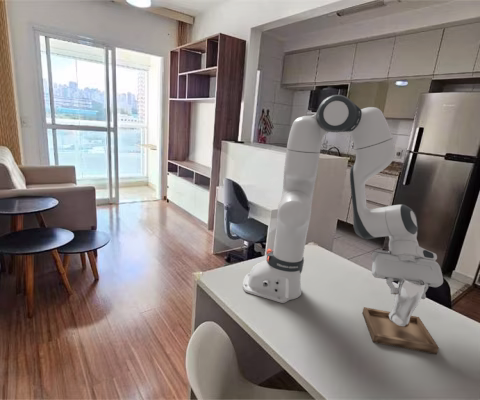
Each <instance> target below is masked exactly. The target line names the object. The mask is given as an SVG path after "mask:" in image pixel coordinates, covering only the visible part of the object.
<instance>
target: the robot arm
mask: <svg viewBox="0 0 480 400" xmlns="http://www.w3.org/2000/svg"><path fill="white" fill-rule="evenodd" d="M289 130H290V131H289V134H288V139H287V144H286V145H287V146H286V150H285V151H286V153H285V161H284V167H283V184H282V194H281V198H280V201H279V203H278V206H277V212H276V213H277V214H276V224H275V225H276V226H275V236H274V243H273V250H272V249H271V248H268V249H266V259H265V260H262V261H260V262H258V263H256V264H254V265H253V267H252V268H251V270H250V272H248V273H246V274H245V276H243V277H244V278H243V280H242V289H243V290H244V292H246V293H248V294H251V295H255V296H258V297H260V298H264V299H268V300H271V301H274V302H278V303H281V304H285V303H287V302H289V301H290V300H294V299H297V298H299V297H301V295H302V292H303V291H302V283H301V282H302V281H301V277H302V276H301V275H302V274H301V273H302V272H303V268H304V261H305V259H304V253H305V246H306V242H307V236H308V231H309V227H310V221H311V217H312V205H313V204H312V203H313V198H314V191H315V186H316V185H315V184H316V179H317V175H318V167H319V161H320V157H321V148H322V143H323V139H324V137H325V136H326V135H327V134H328V133H348V135H349V136H350V137H351V140H352V143H353V147H354V151H355V161H354V163H353V165H351V166H350V170H349V179H350V180H349V182H350V192H351V193H350V194H351V203H352V204H351V205H352V217H353V218H352V220H353V222H352V223H353V229H354V232H355V234H356V235H357V236H358V237H360V238H362V239H364V240H371V239H377V238H382V237H383V238H385V237H388V239H389V240H388V250H381V249H375V250H373V251H372V252H371V260H372V266H371V276H373V277H374V278H377V279H382V280H386V281H385V282H386V284H387V286H388V287H389V289H390V294H391V295H394V296H395V295H396V294H398V288H397V287H395V284H394V283H393V282H399V280H400V278H401V276H402V274H404V275H403V278H404V279H406V280H410V281H416V282H420V280H419V278H420V279H421V280H423V281H424V282H425V284H426V285H425V288H424V292H423V295H422V298H421V300H425V299H426V298H427V295H426V292H427V291H428V289H429V287H432V288H438V287H440V286H442V285H443V283H444V277H443V273H442V269H441V266H440V264H439V263H438V262H437V261H436V260H437V259H438V255H437V253H435V252H433V251H430V250H427V249H425V248H423V247H422V246H420V245H419V241H418V239H417V237H418V230H419V224H418V217H417V214H416V212H415V211H414V209H412V208H410V207H409V206H407V205H406V204H394V205H388V206H384V207H382V206H381V207H377V208H369V207H368V206H367V196H366V195H367V194H366V184H367V182H368V181H369V180H370V179H371V178H374V176H376V175H377V174H379V173H381V172H383V171H384V170H385V169H386V168H387V167H389V166H390V165H391V164H392V162H393V161H394V159H395V156H396V148H395V142H394V138H393V134H392V131H391V129H390V125H389V123H388V121H387V119H386V117H385V115H384V113H383V111H382V110H381V109H380V108H378V107H376V106H375V107H373V106H368V107H364V108H360V107H359V106H358V105H357V104H356V103H355V102H354V101H352V99H350V98H349V97H347V96H345V95H342V94H332V95H330V96H328V97H326V98H324V99H323V100H322V101H321V103H320V104H319V105H318V108H317V110H316V113H314V114H313V115H303V116H299V117H297V118H295V120H294V121H293V122H292V124H291V128H290V129H289Z"/></svg>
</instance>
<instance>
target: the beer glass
mask: <svg viewBox="0 0 480 400" xmlns="http://www.w3.org/2000/svg"><path fill="white" fill-rule="evenodd" d="M403 275H404V274H402V276H401V278H400V280H399V281H397V285H396V288H398V294H396V295H395V294H394V299H393V304H392V308H391V311H389V312H390V313H389V315H388V318H389V320H390V321H391V322H392V323H394V324H396V325H398V326H400V327H408V326H409V323H410V317H411V316H413V313H414V311H415V310H416V308H417V306H418V305H419V303H420V302H421V300H422V299H421V298H422V295H423V292H424V288H425V285H426V284H425V282H424V281H423V280H421V279H420V278H419V280H420V282H416V281H410V280H406V279H404V278H403Z"/></svg>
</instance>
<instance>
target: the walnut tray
mask: <svg viewBox="0 0 480 400" xmlns="http://www.w3.org/2000/svg"><path fill="white" fill-rule="evenodd" d="M390 312H391V311H387V310H381V309H376V308H370V307H364V306H363V308H362V313H361V314H362V316H363V318H364V322H365V324H366V328H367V330H368V332H369V335H370V338H371V342H372V343H375V344H382V345H386V346H392V347H396V348H400V349H401V348H402V349H407V350H410V351H416V352H422V353H425V354H433V355H437V353H438V351H439V349H440V347H439V345H438V344H437V342H436V341H435V339H434V338H433V336H432V335H431V333H430V332H429V330H428V329H427V326H425V324H424V323H423V321H422V320H421V318H420V317H419V316H415V315H411V317H410V323H409V326H408V327H400V326H398V325H396V324H394V323H392V322H391V321H390V320H389V318H388V315H389V313H390Z"/></svg>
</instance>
